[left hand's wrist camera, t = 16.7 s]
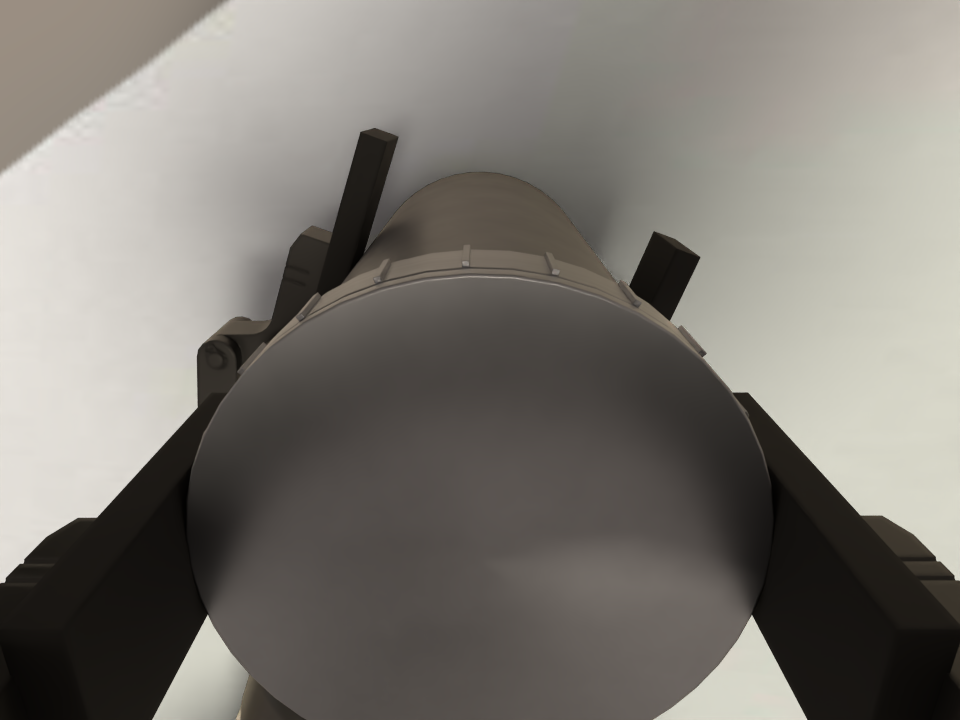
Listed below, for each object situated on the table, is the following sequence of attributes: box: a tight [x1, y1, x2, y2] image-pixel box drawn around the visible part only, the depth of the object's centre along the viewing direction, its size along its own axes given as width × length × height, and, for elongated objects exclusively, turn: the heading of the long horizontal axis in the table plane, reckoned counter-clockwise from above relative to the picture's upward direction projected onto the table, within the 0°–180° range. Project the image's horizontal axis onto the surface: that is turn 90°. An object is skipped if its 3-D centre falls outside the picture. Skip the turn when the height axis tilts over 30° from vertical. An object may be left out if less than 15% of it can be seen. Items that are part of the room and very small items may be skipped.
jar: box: [341, 172, 617, 285], centre depth 19 cm, size 9×9×17 cm
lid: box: [186, 245, 774, 720], centre depth 12 cm, size 10×10×2 cm
